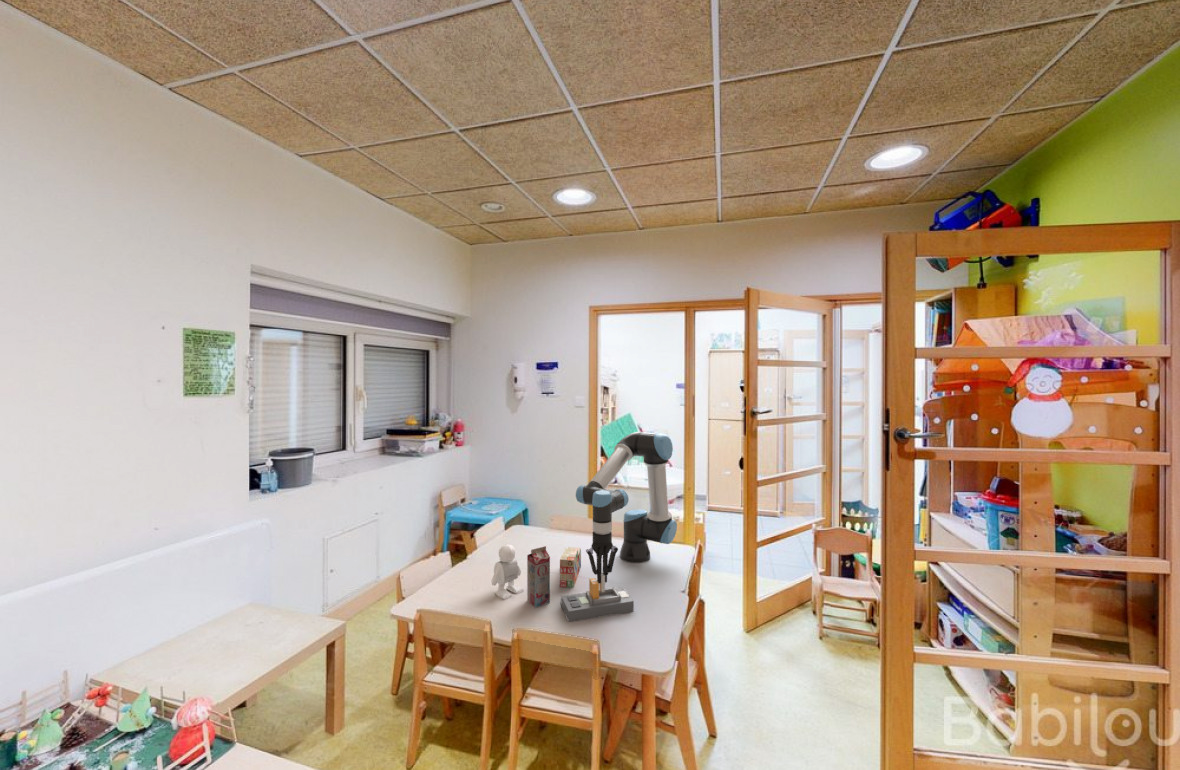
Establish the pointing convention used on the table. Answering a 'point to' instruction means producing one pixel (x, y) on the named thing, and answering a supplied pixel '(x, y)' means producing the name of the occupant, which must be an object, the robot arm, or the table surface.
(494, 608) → the table surface
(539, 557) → the juice carton
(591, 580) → the breaker lever
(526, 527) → the table surface
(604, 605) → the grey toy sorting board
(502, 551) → the toy robot
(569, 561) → the stack of blocks
